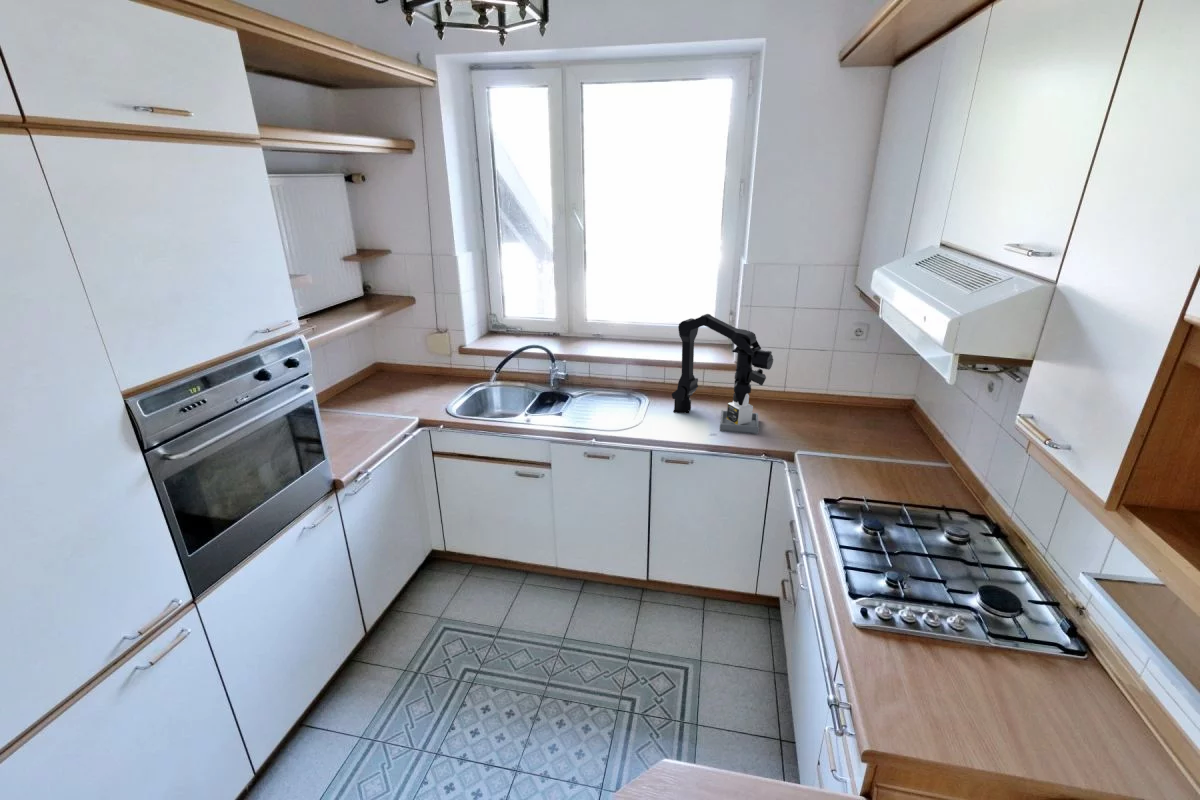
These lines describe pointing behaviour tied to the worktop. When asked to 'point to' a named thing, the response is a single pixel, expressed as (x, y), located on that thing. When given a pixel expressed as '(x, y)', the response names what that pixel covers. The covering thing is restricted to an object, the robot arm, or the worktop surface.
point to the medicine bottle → (740, 411)
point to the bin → (743, 428)
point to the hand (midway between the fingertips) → (740, 402)
